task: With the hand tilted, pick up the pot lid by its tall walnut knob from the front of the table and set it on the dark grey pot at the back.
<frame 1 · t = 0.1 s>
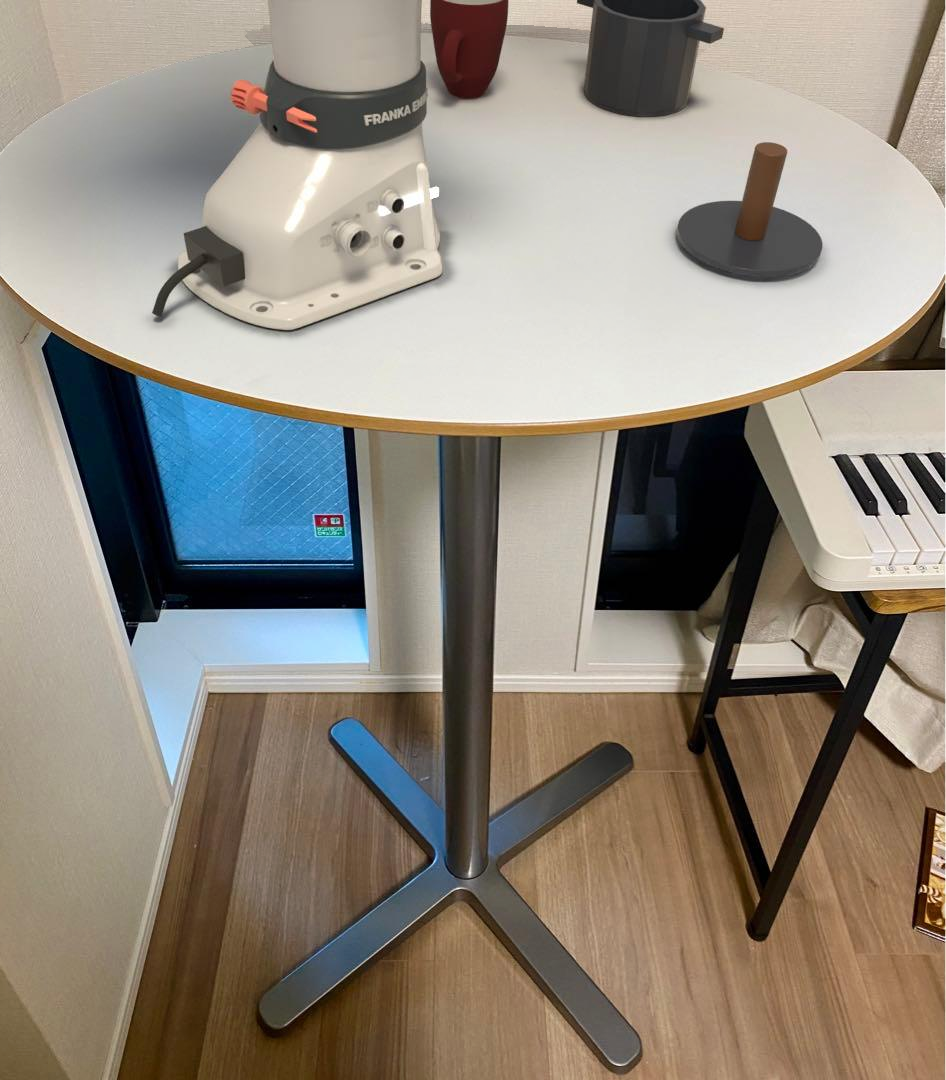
pot lid: (748, 239, 86), point 1 cm above the table
dark grey pot: (635, 95, 110), on the table
mug: (464, 98, 108), on the table
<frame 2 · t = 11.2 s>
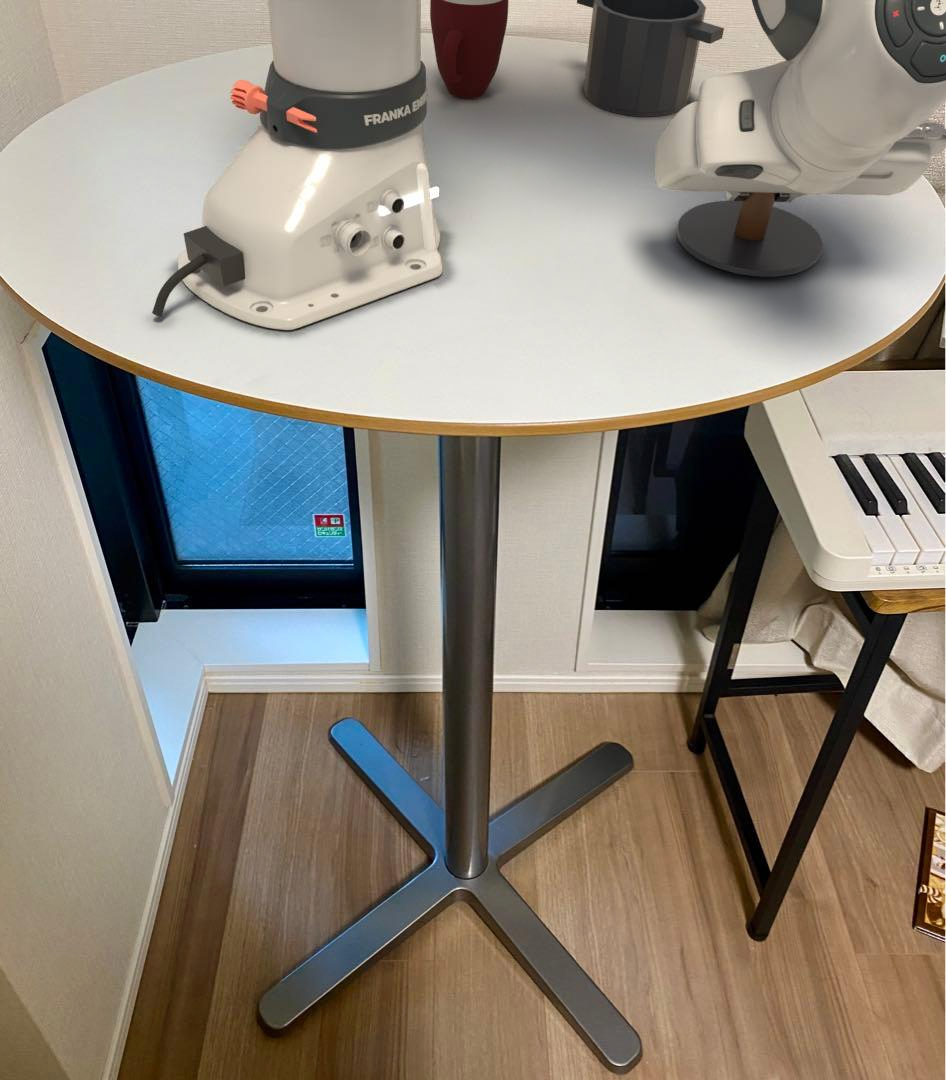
hand: (757, 192, 84), 5 cm above the table, tool tilted 45°, fingers closed on pot lid, 2 cm apart
pot lid: (748, 239, 86), point 1 cm above the table, touching gripper
everything else where it was.
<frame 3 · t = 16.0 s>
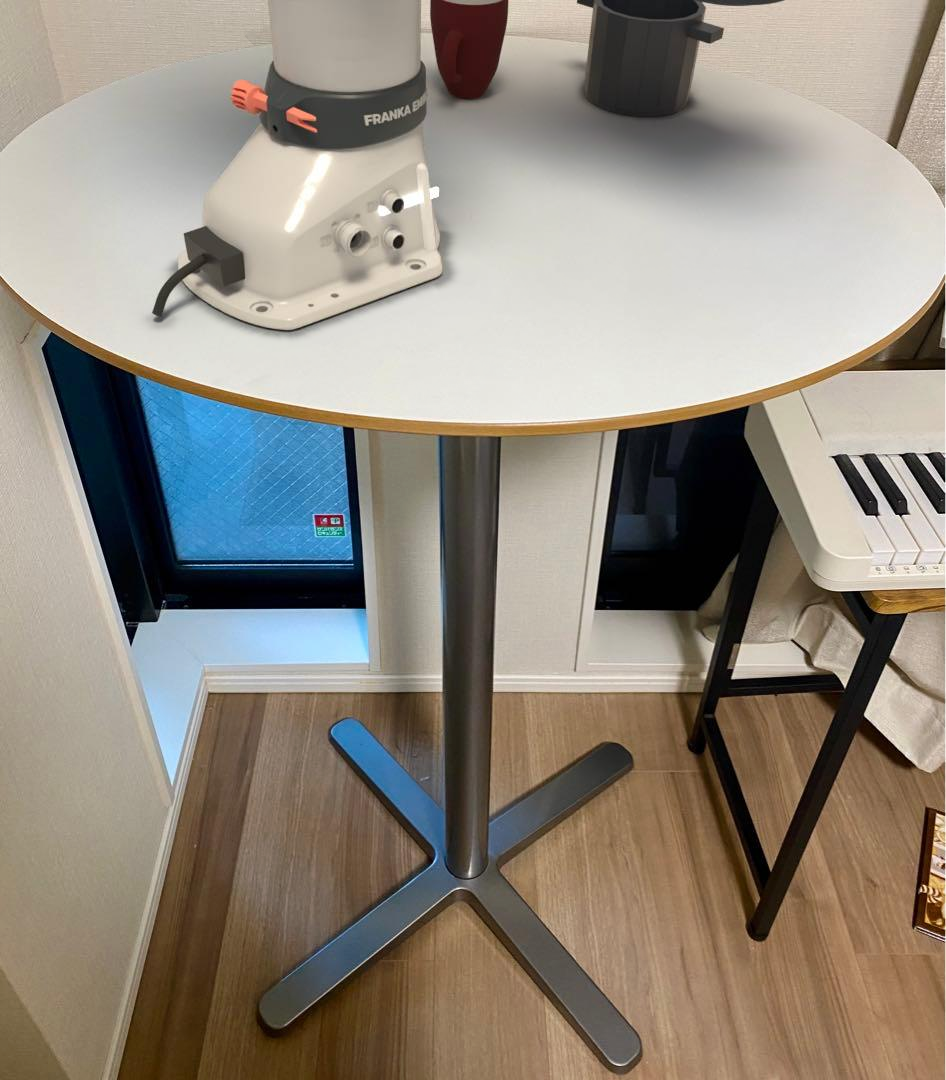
when the fingers open (13 cm above the table, at t = 20.7 s): pot lid stays where it is, resting on dark grey pot.
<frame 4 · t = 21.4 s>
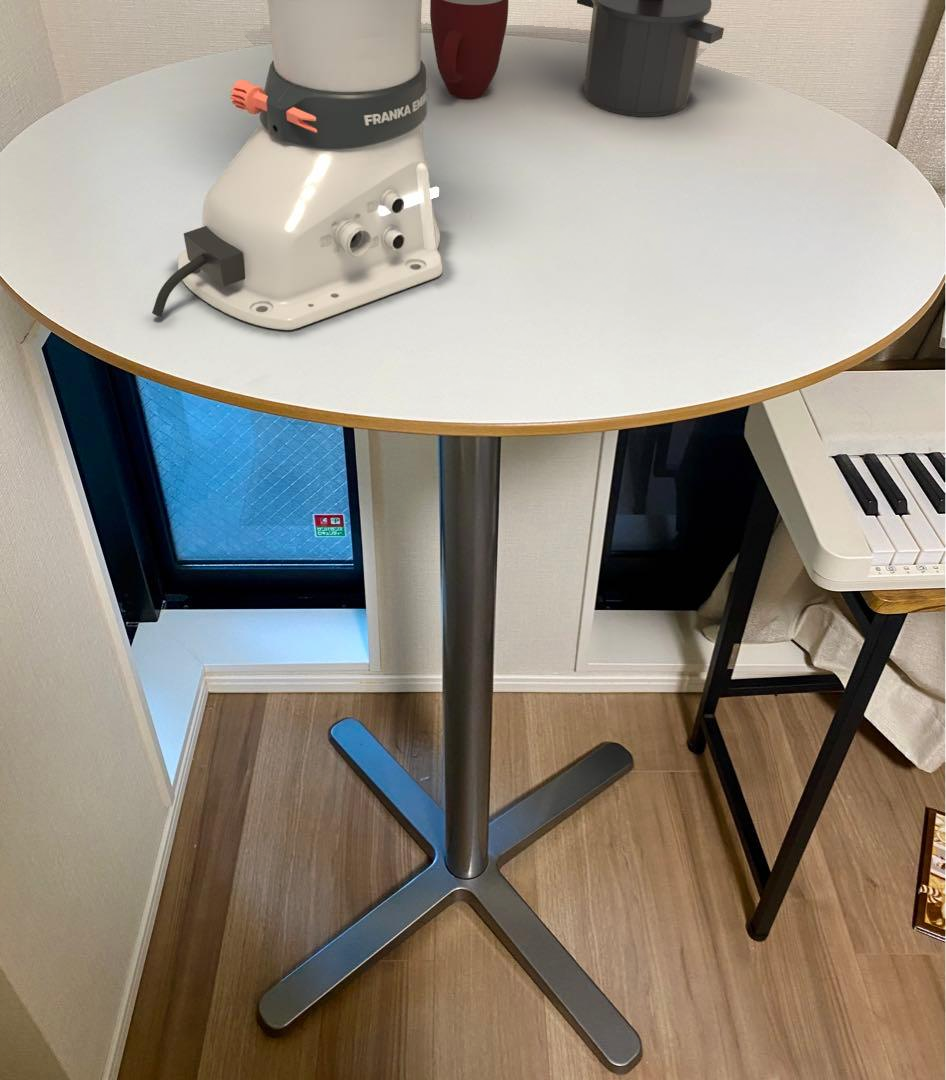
pot lid: (650, 2, 103), point 9 cm above the table, touching dark grey pot
everything else where it was.
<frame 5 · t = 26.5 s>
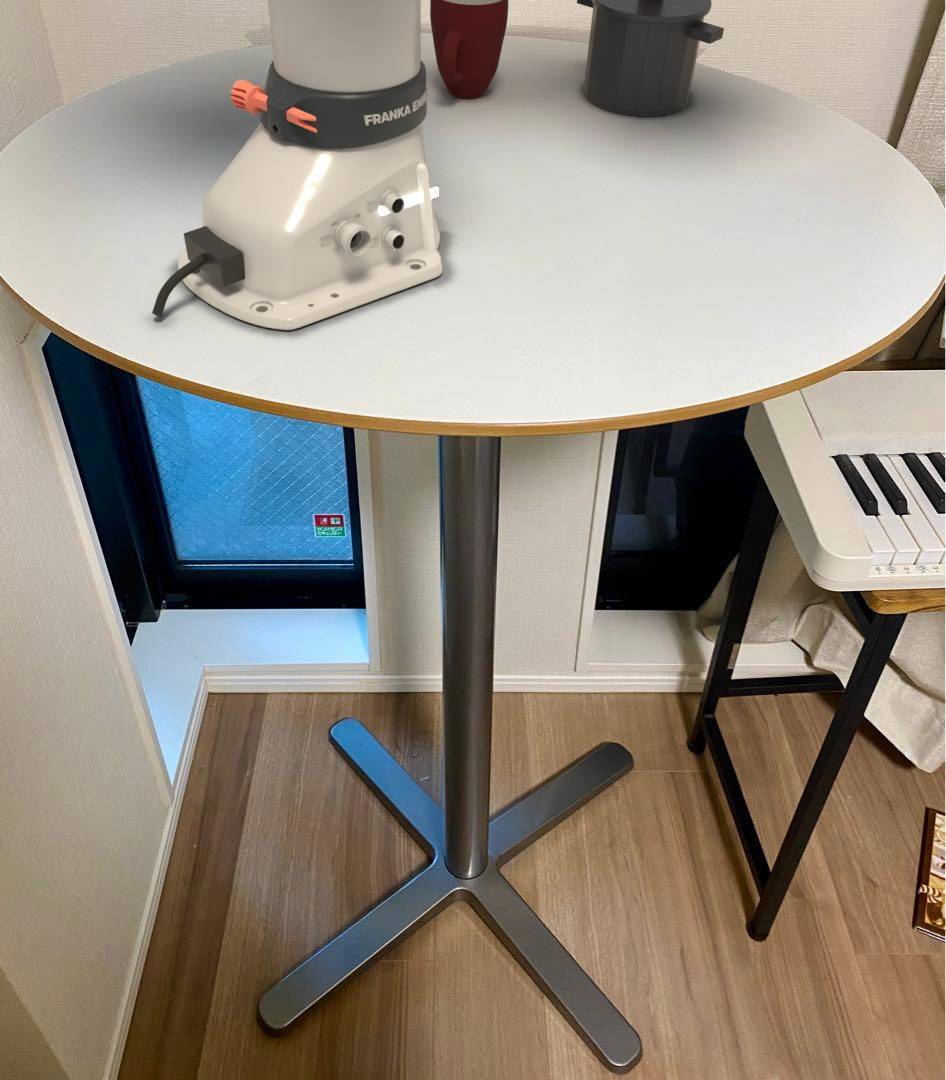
nothing on the table moved.
at the end: pot lid 0.1 cm off-centre on the dark grey pot, point 9.4 cm above the dark grey pot's base; pot lid tilted 0°; the gripper is holding nothing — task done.
